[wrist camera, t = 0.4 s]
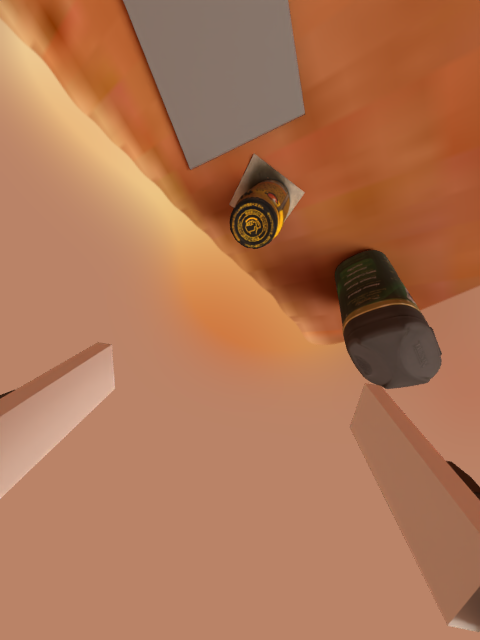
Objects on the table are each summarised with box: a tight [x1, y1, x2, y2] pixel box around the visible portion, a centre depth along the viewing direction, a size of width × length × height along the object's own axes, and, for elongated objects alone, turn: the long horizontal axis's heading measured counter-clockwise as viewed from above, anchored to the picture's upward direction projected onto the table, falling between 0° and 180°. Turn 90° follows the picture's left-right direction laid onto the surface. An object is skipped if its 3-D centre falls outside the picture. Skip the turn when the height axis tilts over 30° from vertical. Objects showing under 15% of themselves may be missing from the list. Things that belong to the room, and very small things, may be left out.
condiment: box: [229, 154, 305, 249], centre depth 28 cm, size 7×8×12 cm
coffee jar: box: [335, 250, 442, 389], centre depth 29 cm, size 10×8×19 cm
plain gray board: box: [123, 0, 305, 170], centre depth 24 cm, size 18×16×1 cm
